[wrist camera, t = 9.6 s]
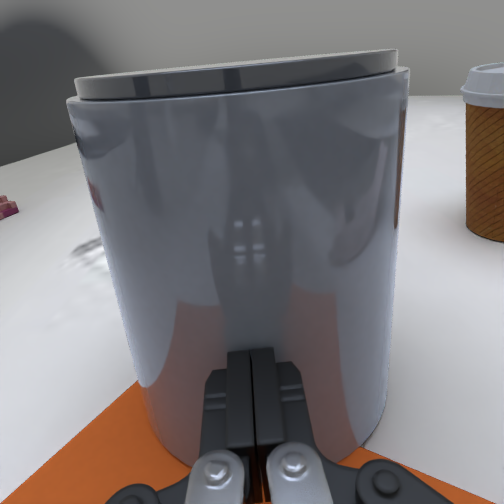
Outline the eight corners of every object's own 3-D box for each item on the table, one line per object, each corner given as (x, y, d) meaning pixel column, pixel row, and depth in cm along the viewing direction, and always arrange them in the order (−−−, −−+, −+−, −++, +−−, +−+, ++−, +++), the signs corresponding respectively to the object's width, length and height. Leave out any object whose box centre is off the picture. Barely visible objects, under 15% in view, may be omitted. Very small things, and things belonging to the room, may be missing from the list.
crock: (93, 408, 20) (-13, 86, 14) (237, 293, 29) (211, 63, 23) (319, 546, 14) (307, 61, 8) (416, 344, 22) (448, 43, 16)
